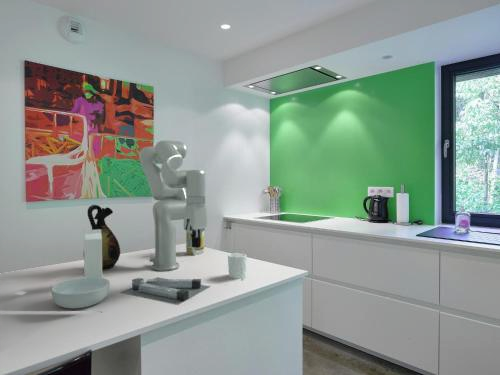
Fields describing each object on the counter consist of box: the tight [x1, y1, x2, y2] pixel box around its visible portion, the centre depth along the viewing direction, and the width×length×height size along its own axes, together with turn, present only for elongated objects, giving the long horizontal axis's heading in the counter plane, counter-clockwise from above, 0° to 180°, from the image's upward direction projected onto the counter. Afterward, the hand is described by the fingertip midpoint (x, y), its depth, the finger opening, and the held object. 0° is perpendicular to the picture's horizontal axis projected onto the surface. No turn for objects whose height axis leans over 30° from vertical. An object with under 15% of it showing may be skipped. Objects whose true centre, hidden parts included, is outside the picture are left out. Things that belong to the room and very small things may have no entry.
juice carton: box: [185, 230, 205, 256], centre depth 182 cm, size 9×8×24 cm
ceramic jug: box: [83, 204, 121, 271], centre depth 148 cm, size 17×15×30 cm
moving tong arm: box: [131, 277, 202, 290], centre depth 121 cm, size 25×5×3 cm, turn 90°
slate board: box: [119, 277, 211, 306], centre depth 120 cm, size 26×20×1 cm
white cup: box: [227, 252, 248, 281], centre depth 137 cm, size 8×8×10 cm
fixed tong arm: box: [139, 283, 189, 302], centre depth 114 cm, size 20×3×3 cm, turn 65°
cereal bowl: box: [51, 277, 111, 310], centre depth 107 cm, size 17×17×7 cm
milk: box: [83, 229, 103, 278], centre depth 126 cm, size 6×6×22 cm
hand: (196, 246), depth 129 cm, fingers closed
